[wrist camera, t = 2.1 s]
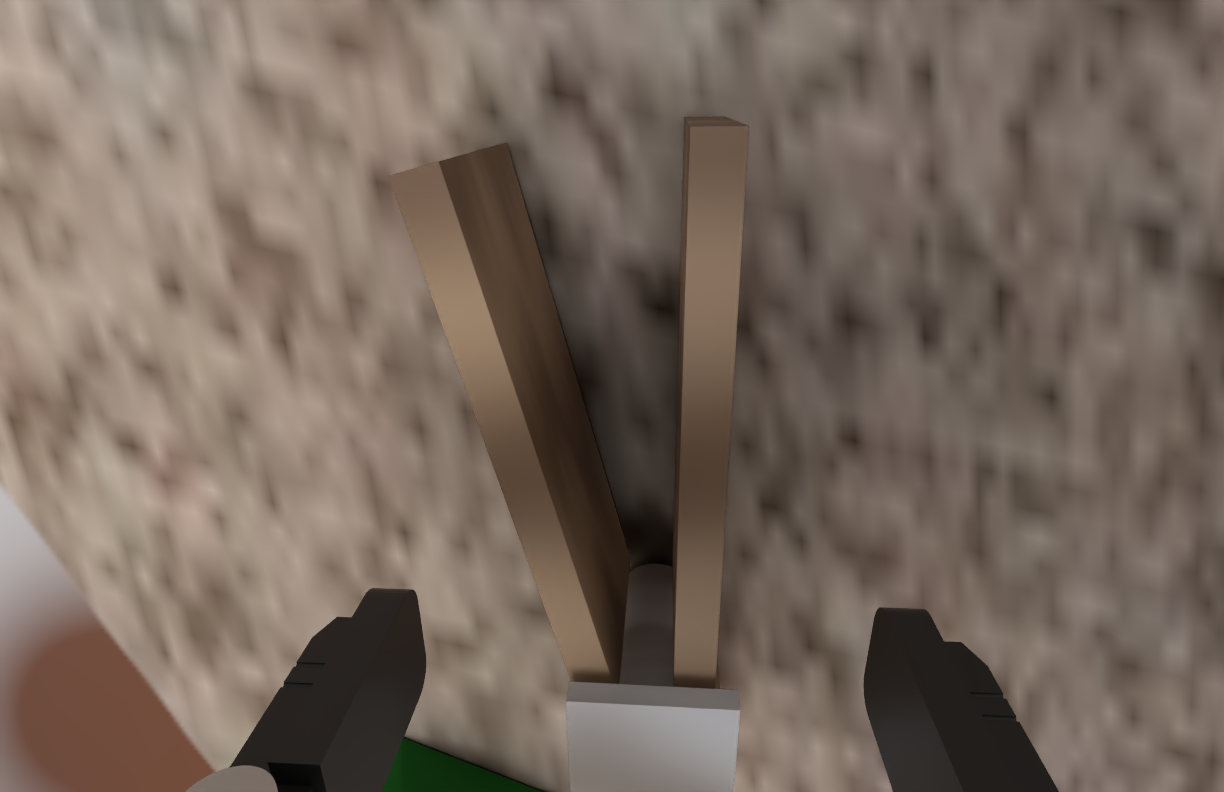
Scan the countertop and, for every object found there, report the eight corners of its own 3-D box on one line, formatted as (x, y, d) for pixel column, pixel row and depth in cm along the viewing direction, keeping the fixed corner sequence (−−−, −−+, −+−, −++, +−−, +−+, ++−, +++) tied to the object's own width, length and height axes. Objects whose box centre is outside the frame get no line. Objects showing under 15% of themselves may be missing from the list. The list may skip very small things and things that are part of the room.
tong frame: (710, 706, 25) (724, 911, 19) (599, 700, 25) (575, 900, 19) (745, 116, 18) (786, 127, 11) (585, 118, 18) (537, 130, 12)
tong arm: (700, 617, 23) (708, 767, 18) (621, 629, 24) (607, 779, 19) (570, 124, 18) (527, 136, 12) (469, 152, 18) (387, 176, 13)
